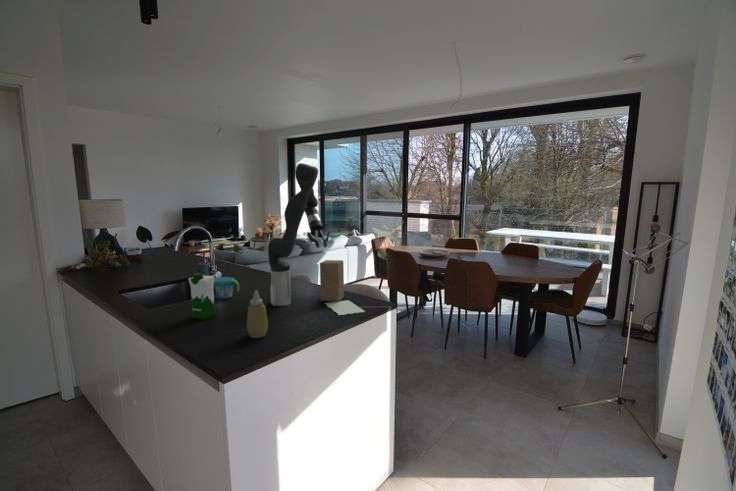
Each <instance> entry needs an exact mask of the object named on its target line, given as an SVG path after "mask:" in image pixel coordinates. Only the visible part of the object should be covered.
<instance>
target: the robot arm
mask: <svg viewBox="0 0 736 491" xmlns="http://www.w3.org/2000/svg"><path fill="white" fill-rule="evenodd" d="M294 175H295V176H294V177H295V179H296V182H297V185H298V187H299V188H300V191H299V192H297V193H296V194H294V195H292V196H291V198H290V199H289V200H288V202H287V204H286V207H285V209H284V213H283V214H284V221H285V230H284V234H283V236H282V237H273V238H271V239H270V241H269V242H268V245H267V254H268V262H269V263H268V264H269V267H270V274H271V275H270V276H271V277H270V279H271V280H270V282H271V284H270V303H271V305H272V306H273V307H274V306H275V307H277V306H278V307H283V306H288V305H290V304H291V303H292V302H291V301H292V300H291V298H292V297H291V293H292V292H291V264H289V262H287V261H286V260H285V259H284V258H288V257H290V256H291V255H292V252H293V250H294V246H295V242H296V239H297V238H296V237H297V234H298V230H299V228H300V225H301V222H302V219H303V216H304V214H305V215H306V218H307V223H308V227H309V231H310V232H309V231H307V232H306V237H307V238H308V240H309V241H310V242H311V243H314V244H315V245H314V246H315V247H316V248H317V249H319V248H320V242H319V240H318V239H320V240H321V241H322V244H323V247H324V248H325V249H326V248H327V246H328V243H327V242H328V241H329V239H330V231H329V230H328V231H325V229H324V226H323V222H322V219H321V217H320V215H319V211H318V209H317V207H318V205H319V202H318V199H317V197H316V196H315V191H314V186H315V183H316V181H317V178H318V175H319V169H318V168H317V167H316V166H314V165H310V164H306V163H299V164H298V165H297V166H296V168H295V174H294Z"/></svg>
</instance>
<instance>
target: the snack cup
mask: <svg viewBox="0 0 736 491" xmlns="http://www.w3.org/2000/svg"><path fill="white" fill-rule="evenodd" d="M234 284H235V285H236V286H237V287H236V292H239V291H240V283H239V282H238V281H237V280H236V279H235V278H234V277H233V276H231V277H230V276H221V277H215V278H214V284H213V286H214V289H215V294H216V298H217V299H219V300H224V299H231V298H232V296H233V292H234Z"/></svg>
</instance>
